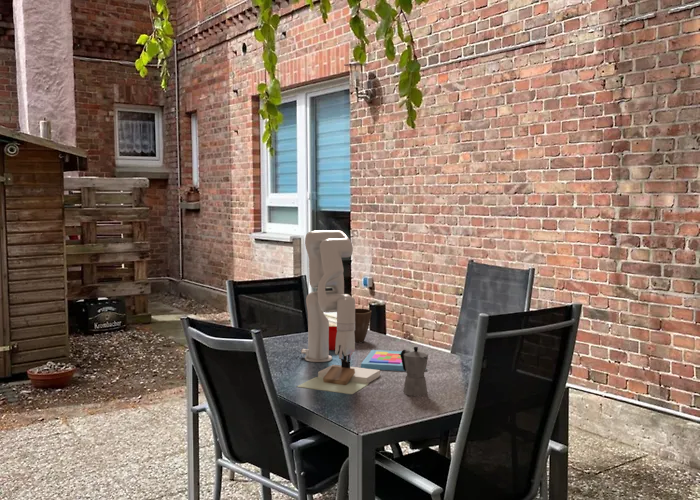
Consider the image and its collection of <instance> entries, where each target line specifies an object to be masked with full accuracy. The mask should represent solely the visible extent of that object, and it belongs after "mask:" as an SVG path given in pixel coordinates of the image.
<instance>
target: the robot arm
mask: <svg viewBox="0 0 700 500" xmlns="http://www.w3.org/2000/svg"><path fill="white" fill-rule="evenodd" d="M304 245H305V249H306V252H307V256H308V276H309V277H308V281H309V282H308V283H309V285H310V287H311V288H313V289H317V290H316V291H311V292H309V293H308V294H307V295H306V297H305V298H306V299H305V302H306V309H307V328H308V329H307V330H308V331H307V338H308V339H307V340H308V341H307V342H308V343H307V345H308V346H307V349H306V348H302V349H301V351H300V353H301V354H304V355H305V356H304V360H305V361H307V362H311V363H326V362H330V361H332V360H333V356H332V355H330V350H329V326H330V321H329V318H328V317H327V316H326V315H325V314H324V313H330V314H331V313H336V327H337V335H336V345H335V350H334V354H335V355H336V356H338V359H339V360H340V361H341V362H340V363H341V366H342V367H344V368H350V367H351V359H352V355H353V353H354V352H355V350H356V342H355V334H354V331H355V309H356V299H355V298H354V297H352V296H351V295H350V294H349V293H345V280H344V279H345V278H344V277H345V276H344V269H345V268H344V265H343V261H342V260H343V259H342V258H350V257H351V256H353V252H354V247H353V243H352V240H351V239H350V238H349V237H348V236H347V235H346V233H345V232H344V231H342V230H338V229H337V230H335V229H334V230H332V229H331V230H327V229H326V230H324V229H322V230H320V229H319V230H312V231H311V230H310V231H309V232H307V233H306V235H305V238H304ZM326 289H332V290H326Z"/></svg>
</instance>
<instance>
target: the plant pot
mask: <svg viewBox="0 0 700 500" xmlns="http://www.w3.org/2000/svg"><path fill="white" fill-rule="evenodd" d="M371 317H372V310H371V309H367V308H355V331H354V334H355V344H356V343H363V342H365V340H366V337H367V333H368V331H369V326H370V323H371Z"/></svg>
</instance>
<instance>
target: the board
mask: <svg viewBox="0 0 700 500" xmlns="http://www.w3.org/2000/svg"><path fill="white" fill-rule="evenodd" d="M332 366H335V367H342V364H332V365H329V366H327V367H326V368H323V369H321V370H320V371H319V370H318V371H317V377H321V378H324V376H325V375H326V374H327V372H328V371H329V370H330V369H331V367H332ZM350 368H352V369H355V374H354V375H353V377H352V378H351V379H350V381H353V382H360V383H368V384H370V383H372V382H373V381H374V380H376V379H377V378H380V377H381V370H376V369H366V368H361V367H358V366H350Z"/></svg>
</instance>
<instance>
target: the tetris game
mask: <svg viewBox="0 0 700 500" xmlns="http://www.w3.org/2000/svg"><path fill="white" fill-rule="evenodd" d="M402 351H403V350H386V349H385V350H384V349H371V350H370V352H368V353H367V355H366V357H365V358H364V359H363V361H361V363H360V368H366V369H375V370H380V371H394V372H395V371H399V372H406V371H405V370H404V369H403V365H402V360H401V355H400V354H401V352H402Z"/></svg>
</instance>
